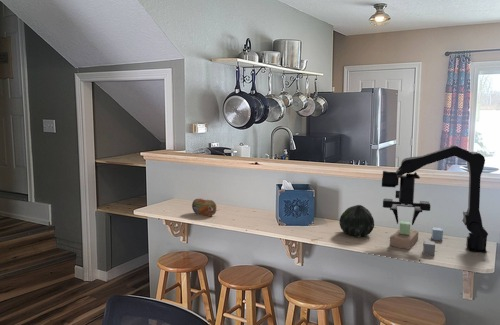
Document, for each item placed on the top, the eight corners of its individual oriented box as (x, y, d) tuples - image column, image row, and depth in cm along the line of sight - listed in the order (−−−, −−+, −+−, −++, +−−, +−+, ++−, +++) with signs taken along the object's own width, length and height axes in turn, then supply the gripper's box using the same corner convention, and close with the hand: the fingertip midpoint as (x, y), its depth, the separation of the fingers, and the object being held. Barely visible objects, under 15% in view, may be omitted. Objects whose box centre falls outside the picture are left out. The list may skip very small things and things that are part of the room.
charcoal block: (433, 252, 175) (434, 241, 174) (434, 255, 171) (435, 244, 170) (422, 251, 176) (423, 240, 175) (423, 254, 172) (424, 243, 172)
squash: (348, 215, 209) (342, 196, 198) (379, 221, 201) (375, 202, 191) (339, 240, 201) (332, 222, 191) (371, 247, 194) (366, 228, 183)
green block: (409, 231, 187) (409, 221, 186) (409, 234, 183) (410, 224, 183) (399, 231, 188) (399, 221, 188) (399, 233, 185) (400, 223, 184)
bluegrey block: (441, 237, 193) (442, 228, 192) (442, 240, 189) (443, 230, 189) (431, 237, 194) (432, 227, 194) (432, 239, 191) (433, 229, 190)
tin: (191, 213, 233) (191, 197, 231) (195, 212, 235) (195, 196, 234) (213, 217, 224) (213, 201, 223) (217, 216, 227) (217, 200, 225)
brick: (399, 236, 196) (399, 226, 195) (418, 240, 191) (419, 229, 190) (388, 247, 182) (389, 236, 181) (409, 251, 177) (410, 240, 177)
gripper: (429, 186, 188) (427, 221, 190) (383, 183, 193) (382, 217, 196) (431, 191, 177) (429, 228, 180) (383, 188, 183) (381, 224, 185)
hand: (404, 224), depth 185 cm, fingers open, 6 cm apart
